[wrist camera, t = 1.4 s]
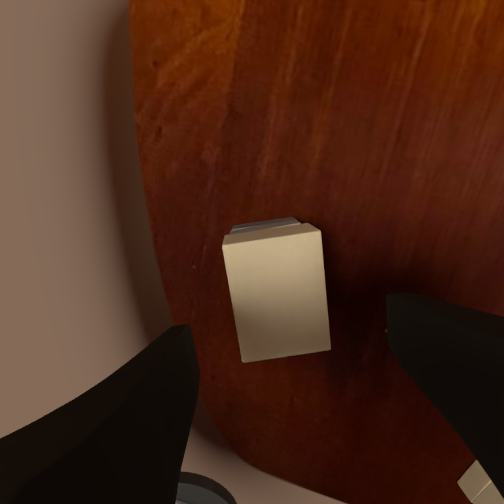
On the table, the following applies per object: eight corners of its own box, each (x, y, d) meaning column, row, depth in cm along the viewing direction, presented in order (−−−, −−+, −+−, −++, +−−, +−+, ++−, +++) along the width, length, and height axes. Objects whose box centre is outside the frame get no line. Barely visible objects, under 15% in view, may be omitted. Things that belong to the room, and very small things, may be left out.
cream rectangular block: (318, 326, 16) (331, 350, 14) (242, 337, 16) (242, 363, 14) (308, 222, 15) (321, 230, 12) (224, 235, 15) (221, 245, 12)
